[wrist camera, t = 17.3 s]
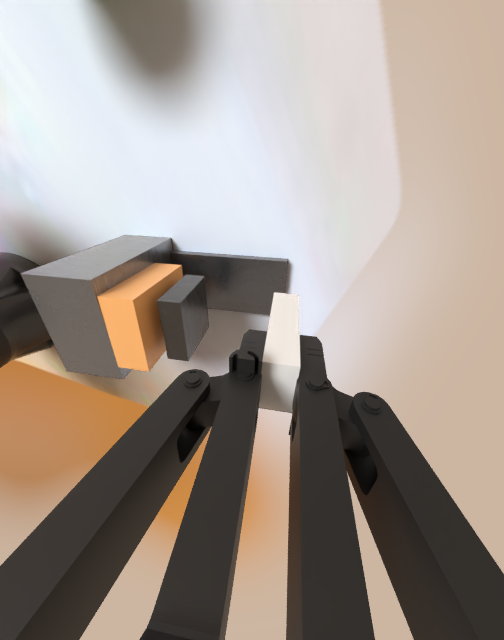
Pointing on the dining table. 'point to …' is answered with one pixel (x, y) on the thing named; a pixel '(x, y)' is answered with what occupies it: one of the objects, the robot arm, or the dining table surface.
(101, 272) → the block
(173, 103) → the dining table surface
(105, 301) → the block
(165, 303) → the shaft
